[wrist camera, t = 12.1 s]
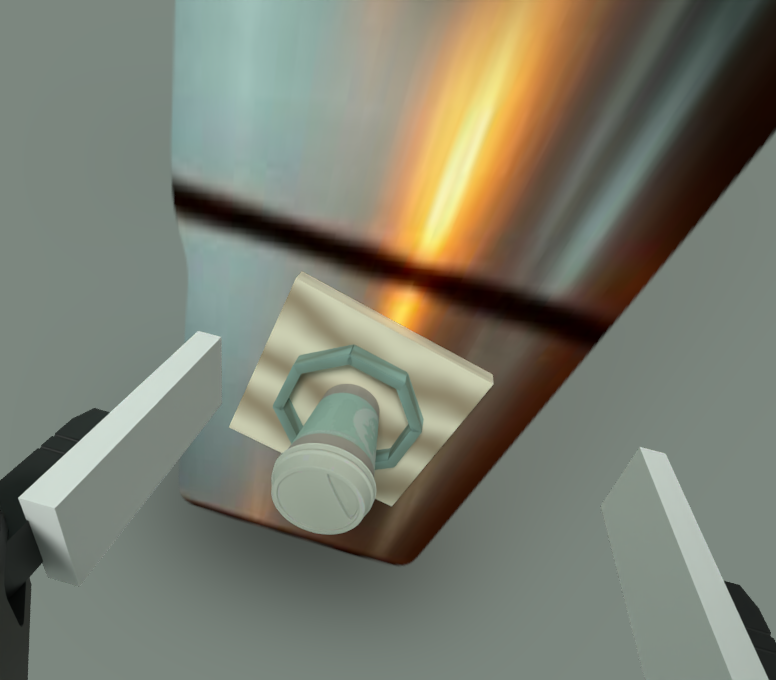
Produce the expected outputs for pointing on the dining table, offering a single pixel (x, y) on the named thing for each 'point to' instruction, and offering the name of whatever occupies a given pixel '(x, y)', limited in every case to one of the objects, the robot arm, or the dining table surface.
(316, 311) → the serving board
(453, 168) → the dining table surface
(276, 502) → the coffee cup
